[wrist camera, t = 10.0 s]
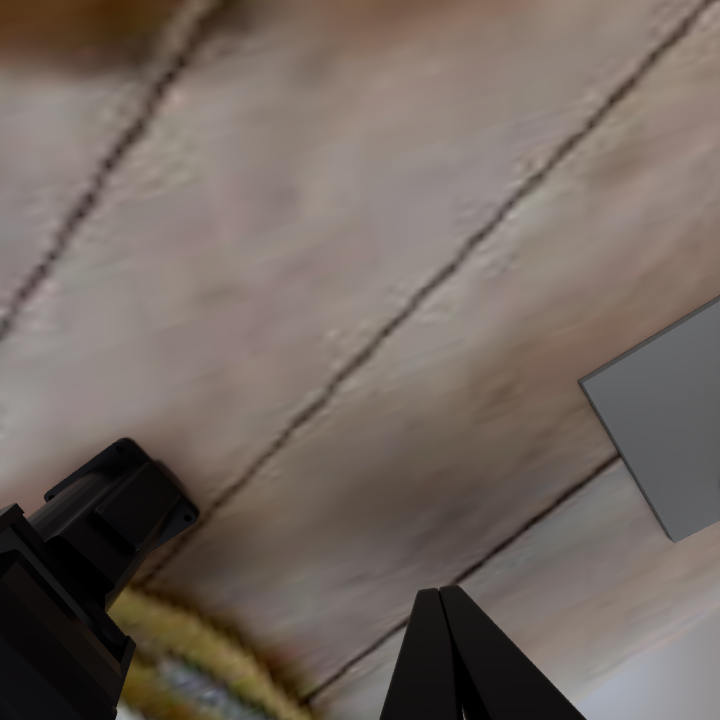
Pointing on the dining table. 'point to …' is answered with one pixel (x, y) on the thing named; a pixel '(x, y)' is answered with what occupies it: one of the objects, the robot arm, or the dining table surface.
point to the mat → (668, 418)
